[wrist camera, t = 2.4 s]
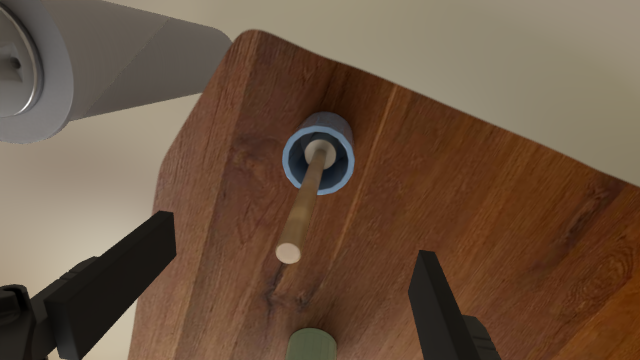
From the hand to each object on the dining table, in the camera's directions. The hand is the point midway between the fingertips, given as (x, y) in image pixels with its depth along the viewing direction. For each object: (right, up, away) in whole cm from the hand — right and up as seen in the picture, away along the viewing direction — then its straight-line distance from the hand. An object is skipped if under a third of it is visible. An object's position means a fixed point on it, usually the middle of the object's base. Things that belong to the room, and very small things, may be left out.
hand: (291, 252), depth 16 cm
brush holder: (+2, +9, +23) cm, 24 cm away
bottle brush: (+2, +9, +22) cm, 24 cm away
